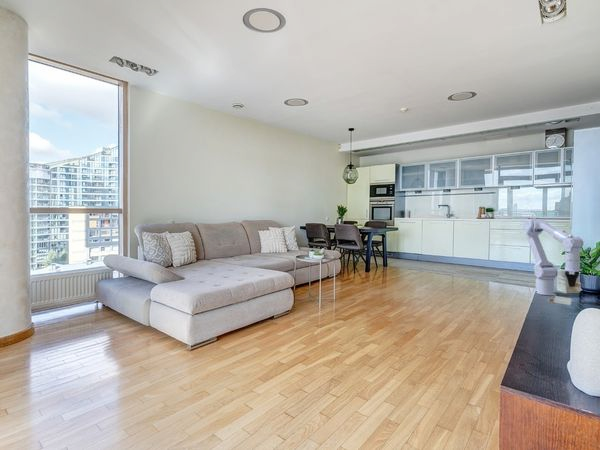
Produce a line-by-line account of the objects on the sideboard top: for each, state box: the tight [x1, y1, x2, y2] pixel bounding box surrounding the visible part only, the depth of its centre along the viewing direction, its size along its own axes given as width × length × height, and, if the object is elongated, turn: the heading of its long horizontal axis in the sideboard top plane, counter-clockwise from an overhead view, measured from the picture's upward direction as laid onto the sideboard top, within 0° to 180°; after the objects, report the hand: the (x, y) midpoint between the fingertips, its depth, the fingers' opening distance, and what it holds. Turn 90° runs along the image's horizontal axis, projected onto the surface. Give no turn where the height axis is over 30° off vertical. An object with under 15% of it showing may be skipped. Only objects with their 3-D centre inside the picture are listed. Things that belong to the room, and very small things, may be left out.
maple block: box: [568, 281, 582, 293], centre depth 161 cm, size 5×4×4 cm
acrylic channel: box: [554, 295, 572, 306], centre depth 161 cm, size 6×7×2 cm
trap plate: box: [547, 298, 555, 304], centre depth 164 cm, size 3×7×1 cm, turn 137°
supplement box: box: [556, 269, 580, 294], centre depth 181 cm, size 7×7×13 cm
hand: (571, 285), depth 162 cm, fingers closed on maple block, 4 cm apart
